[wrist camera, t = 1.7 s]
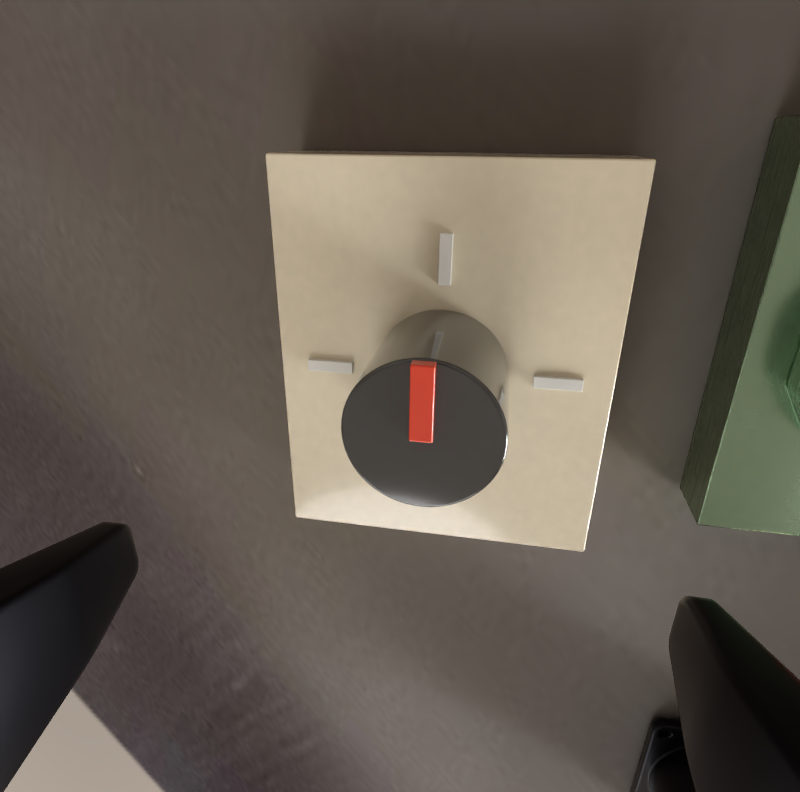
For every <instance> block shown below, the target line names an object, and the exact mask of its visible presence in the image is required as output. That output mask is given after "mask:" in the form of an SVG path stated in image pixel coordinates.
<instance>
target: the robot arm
mask: <svg viewBox="0 0 800 792" xmlns="http://www.w3.org/2000/svg"><path fill="white" fill-rule="evenodd" d="M138 563H139V562H138V556H137V552H136V548H135V544H134V540H133V535H132V531H131V529H130V528H129V526H128V525H125V524H121V523H113V522H103V523H100V524H98V525H96V526H93V527H91V528H89V529H87V530H85V531H82V532H80V533H78V534H76V535H74V536H71V537H69V538H67V539H65V540H62V541H60V542H58V543H56V544H54V545H51V546H49V547H47V548H45V549H43V550H40V551H38V552H36V553H34V554H32V555H29V556H27V557H25V558H23V559H20V560H18V561H16V562H14V563H12V564H9V565H7V566H5V567H3V568H1V569H0V792H4V790H5V788H6V787H7V786H8V784H9V783H10V781H11V780H12V778H13V777H14V775H15V774H16V772H17V771H18V769H19V768H20V766H21V765H22V763H23V762H24V760H25V758H26V757H27V756H28V754H29V753H30V751H31V749H32V748H33V746H34V745H35V743H36V742H37V740H38V739H39V737H40V736H41V734H42V733H43V731H44V729H45V728H46V727H47V725H48V724H49V722H50V721H51V719H52V717H53V716H54V715H55V713H56V712H57V710H58V709H59V707H60V705H61V704H62V702H63V701H64V699H65V698H66V696H67V695H68V693H69V692H70V690H71V689H72V687H73V686H74V684H75V683H76V681H77V680H78V678H79V677H80V675H81V674H82V672H83V671H84V669H85V667H86V666H87V664H88V663H89V661H90V659H91V658H92V656H93V654H94V653H95V651H96V649H97V647H98V646H99V644H100V642H101V640H102V638H103V637H104V635H105V633H106V631H107V629H108V627H109V625H110V623H111V622H112V620H113V618H114V616H115V614H116V612H117V610H118V608H119V607H120V605H121V603H122V601H123V599H124V597H125V595H126V593H127V592H128V590H129V588H130V586H131V584H132V582H133V580H134V578H135V576H136V574H137V571H138ZM669 652H670V659H671V665H672V671H673V677H674V683H675V689H676V695H677V701H678V708H679V714H680V720H681V721H678V720H671V719H665V718H659V719H655V720H654V721H652V723H651V724H650V728H649V731H648V735H647V738H646V741H645V745H644V748H643V752H642V755H641V758H640V762H639V765H638V769H637V772H636V775H635V779H634V782H633V786H632V789H631V792H800V680H799V679H798V678H797V677H796V676H795V675H794V674H793V673H792V672H790V671H789V670H788V669H787V668H786V667H785V666H784V665H783V664H782V663H781V662H780V661H779V660H778V659H777V658H775V657H774V656H773V655H772V654H771V653H770V652H769V651H768V650H767V649H766V648H765V647H764V646H763V645H762V644H760V643H759V642H758V641H757V640H756V639H755V638H754V637H753V636H752V635H751V634H750V633H749V632H748V631H747V630H745V629H744V628H743V627H742V626H741V625H740V624H739V623H738V622H737V621H736V620H735V619H734V618H733V617H732V616H730V615H729V614H728V613H727V612H726V611H725V610H724V609H723V608H722V607H721V606H720V605H719V604H718V603H716V602H715V601H713V600H711V599H708V598H700V597H692V596H685V597H683V598H682V599H681V600H680V602H679V605H678V609H677V612H676V615H675V619H674V622H673V626H672V629H671V633H670V637H669Z"/></svg>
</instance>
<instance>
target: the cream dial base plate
mask: <svg viewBox="0 0 800 792" xmlns="http://www.w3.org/2000/svg"><path fill="white" fill-rule="evenodd" d="M655 165H656V160H655V159H650V158H644V157H639V156H633V155H582V154H517V153H451V152H386V151H320V150H299V151H286V152H273V153H266V166H267V178H268V190H269V202H270V214H271V226H272V238H273V250H274V262H275V274H276V286H277V298H278V310H279V322H280V334H281V346H282V358H283V370H284V382H285V394H286V406H287V418H288V430H289V442H290V454H291V466H292V478H293V490H294V502H295V514H296V517H299V518H308V519H316V520H324V521H333V522H341V523H349V524H358V525H366V526H374V527H383V528H391V529H399V530H408V531H416V532H424V533H433V534H441V535H449V536H458V537H466V538H474V539H483V540H491V541H499V542H508V543H516V544H524V545H533V546H541V547H549V548H558V549H566V550H574V551H584V550H585V545H586V539H587V534H588V528H589V523H590V517H591V512H592V507H593V501H594V496H595V490H596V485H597V479H598V474H599V469H600V463H601V458H602V452H603V447H604V441H605V436H606V431H607V425H608V420H609V414H610V409H611V404H612V398H613V393H614V387H615V382H616V376H617V371H618V366H619V360H620V355H621V349H622V344H623V338H624V333H625V328H626V322H627V317H628V311H629V306H630V300H631V295H632V290H633V284H634V279H635V273H636V268H637V262H638V257H639V252H640V246H641V241H642V235H643V230H644V225H645V219H646V214H647V208H648V203H649V197H650V192H651V187H652V181H653V176H654V170H655ZM429 310H450V311H455V312H459V313H462V314H465V315H467V316H470V317H472V318H474V319H475V320H477V321H479V322H480V323H482V324H483V325H484V326H486V327H487V328H488V329H489V330H490V331H491V332H492V333H493V334H494V336H495V337H496V338H497V339H498V341H499V343H500V344H501V346H502V348H503V350H504V352H505V355H506V358H507V362H508V369H509V424H508V448H507V454H506V457H505V460H504V463H503V465H502V467H501V469H500V470H499V472H498V474H497V475H496V476H495V478H494V479H493V480H492V481H491V482H490V483H489V484H488V485H487V486H486V487H485V488H484V489H483V490H481V491H480V492H479V493H478V494H476V495H474V496H472V497H471V498H469V499H466V500H464V501H462V502H459V503H456V504H452V505H447V506H441V507H420V506H414V505H409V504H405V503H402V502H399V501H396V500H394V499H391V498H389V497H387V496H385V495H384V494H382V493H380V492H379V491H377V490H376V489H374V488H373V487H372V486H371V485H369V484H368V483H367V482H366V481H365V480H364V479H363V478H362V477H361V476H360V475H359V474H358V472H357V471H356V469H355V468H354V467H353V465H352V463H351V462H350V460H349V458H348V456H347V453H346V451H345V448H344V444H343V440H342V434H341V418H342V412H343V408H344V405H345V402H346V400H347V398H348V396H349V394H350V392H351V391H352V389H353V387H354V386H355V384H356V382H357V381H358V379H359V378H360V376H361V374H362V373H363V371H364V370H365V368H366V366H367V365H368V363H369V362H370V360H371V358H372V357H373V355H374V354H375V352H376V350H377V349H378V347H379V345H380V344H381V342H382V341H383V339H384V338H385V336H386V335H387V333H388V332H389V331H390V330H391V329H392V328H393V327H394V326H395V325H396V324H398V323H399V322H400V321H402V320H404V319H405V318H407V317H409V316H411V315H414V314H416V313H420V312H423V311H429Z"/></svg>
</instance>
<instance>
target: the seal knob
mask: <svg viewBox="0 0 800 792" xmlns="http://www.w3.org/2000/svg"><path fill="white" fill-rule="evenodd" d="M508 424H509V369H508V362H507V358H506V355H505V352H504V350H503V348H502V346H501V344H500V343H499V341H498V339H497V338H496V337H495V336H494V334H493V333H492V332H491V331H490V330H489V329H488V328H487V327H486V326H484V325H483V324H482V323H480V322H479V321H477V320H475V319H474V318H472V317H470V316H467V315H465V314H462V313H459V312H455V311H450V310H429V311H423V312H420V313H416V314H414V315H411V316H409V317H407V318H405V319H404V320H402V321H400V322H399V323H398V324H396V325H395V326H394V327H393V328H392V329H391V330H390V331H389V332H388V333H387V335H386V336H385V338H384V339H383V341H382V342H381V344H380V345H379V347H378V349H377V350H376V352H375V354H374V355H373V357H372V358H371V360H370V362H369V363H368V365H367V366H366V368H365V370H364V371H363V373H362V374H361V376H360V378H359V379H358V381H357V382H356V384H355V386H354V387H353V389H352V391H351V392H350V394H349V396H348V398H347V400H346V402H345V405H344V408H343V412H342V418H341V434H342V440H343V444H344V448H345V451H346V453H347V456H348V458H349V460H350V462H351V463H352V465H353V467H354V468H355V469H356V471H357V472H358V474H359V475H360V476H361V477H362V478H363V479H364V480H365V481H366V482H367V483H368V484H369V485H371V486H372V487H373V488H374V489H376V490H377V491H379V492H380V493H382V494H384V495H385V496H387V497H389V498H391V499H394V500H396V501H399V502H402V503H405V504H409V505H414V506H420V507H441V506H447V505H452V504H456V503H459V502H462V501H464V500H466V499H469V498H471V497H472V496H474V495H476V494H478V493H479V492H480V491H481V490H483V489H484V488H485V487H486V486H487V485H488V484H489V483H490V482H491V481H492V480H493V479H494V478H495V476H496V475H497V474H498V472H499V470H500V469H501V467H502V465H503V463H504V460H505V457H506V454H507V448H508Z"/></svg>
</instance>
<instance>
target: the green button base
mask: <svg viewBox="0 0 800 792" xmlns="http://www.w3.org/2000/svg"><path fill="white" fill-rule="evenodd" d="M680 489H681V491H682V493H683V495H684V497H685V499H686V502H687V504H688V506H689V508H690V510H691V512H692V514H693V516H694V518H695V520H696V522H697V524H698V525H705V526H714V527H723V528H732V529H741V530H750V531H759V532H769V533H778V534H787V535H796V536H800V116H790V117H777V118H776V119H775V121H774V125H773V129H772V133H771V137H770V141H769V145H768V148H767V152H766V156H765V160H764V164H763V168H762V172H761V176H760V179H759V183H758V187H757V191H756V195H755V199H754V203H753V206H752V210H751V214H750V218H749V222H748V226H747V230H746V234H745V237H744V241H743V245H742V249H741V253H740V257H739V261H738V264H737V268H736V272H735V276H734V280H733V284H732V288H731V292H730V295H729V299H728V303H727V307H726V311H725V315H724V319H723V322H722V326H721V330H720V334H719V338H718V342H717V346H716V350H715V353H714V357H713V361H712V365H711V369H710V373H709V377H708V381H707V384H706V388H705V392H704V396H703V400H702V404H701V408H700V411H699V415H698V419H697V423H696V427H695V431H694V435H693V439H692V442H691V446H690V450H689V454H688V458H687V462H686V466H685V469H684V473H683V477H682V481H681V485H680Z"/></svg>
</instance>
